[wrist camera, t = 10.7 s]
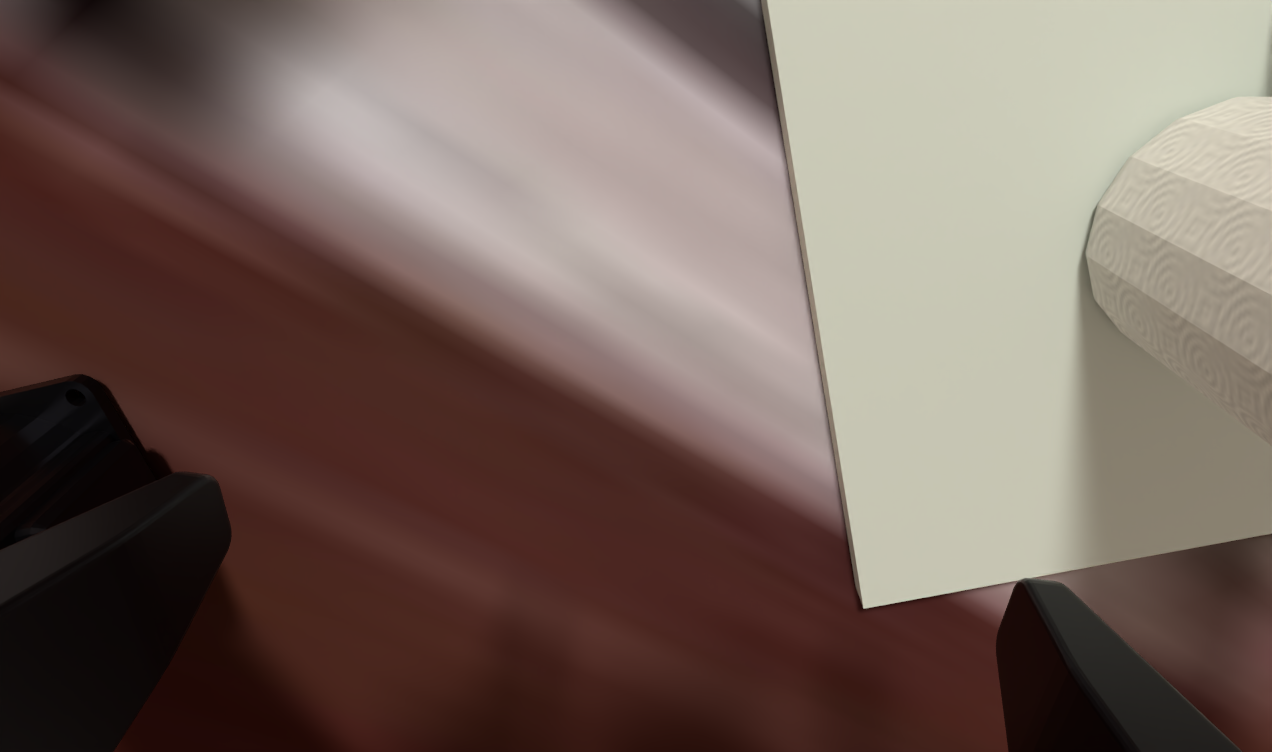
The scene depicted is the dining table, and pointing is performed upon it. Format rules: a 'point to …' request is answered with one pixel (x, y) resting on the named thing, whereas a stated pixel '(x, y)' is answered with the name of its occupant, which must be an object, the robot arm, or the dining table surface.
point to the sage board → (1001, 281)
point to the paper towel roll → (1196, 254)
